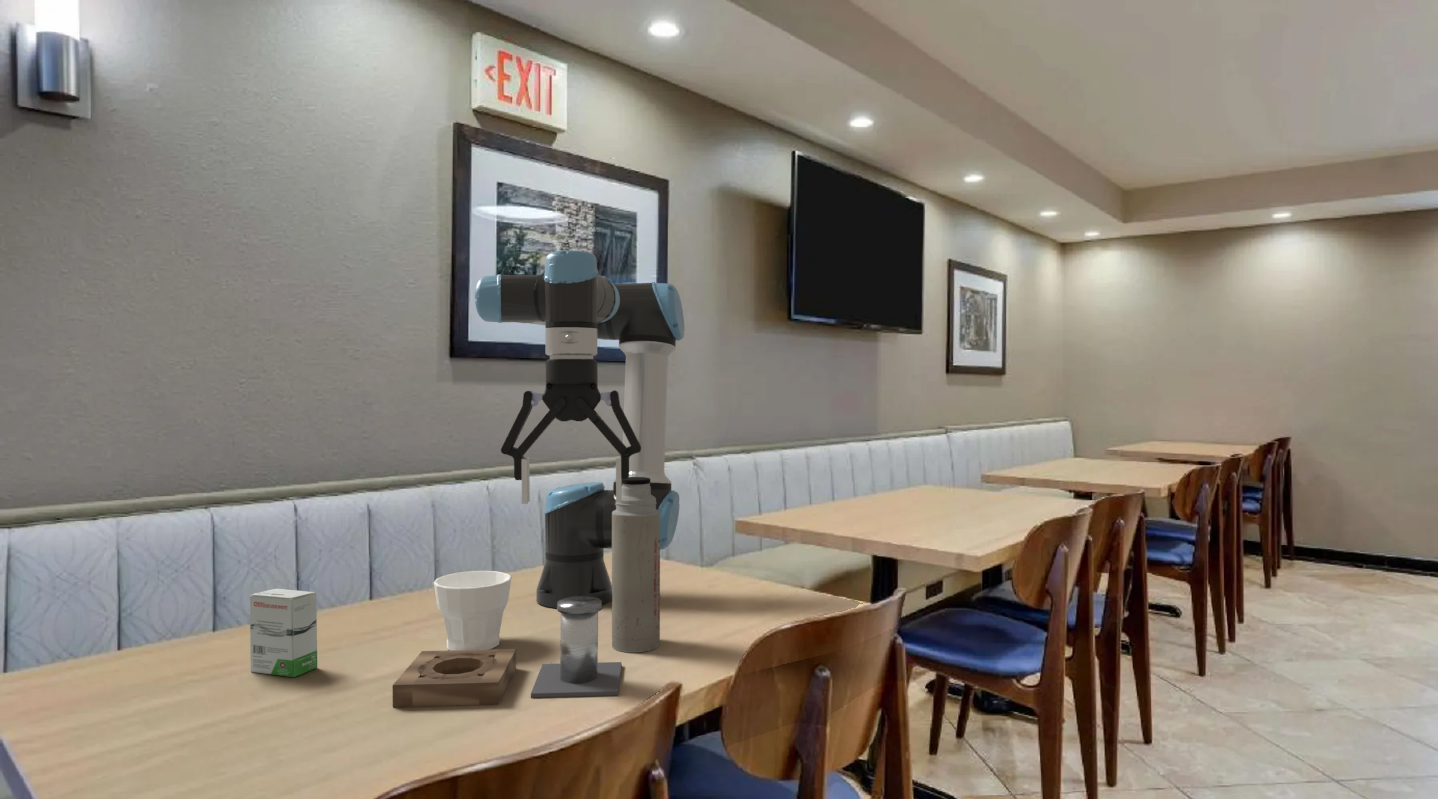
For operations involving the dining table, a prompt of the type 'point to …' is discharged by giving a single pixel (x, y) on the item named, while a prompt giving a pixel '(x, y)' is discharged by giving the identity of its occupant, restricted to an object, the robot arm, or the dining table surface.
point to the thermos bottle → (636, 568)
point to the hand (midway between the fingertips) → (572, 501)
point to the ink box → (283, 632)
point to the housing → (455, 678)
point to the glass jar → (579, 638)
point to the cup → (472, 607)
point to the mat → (555, 687)
